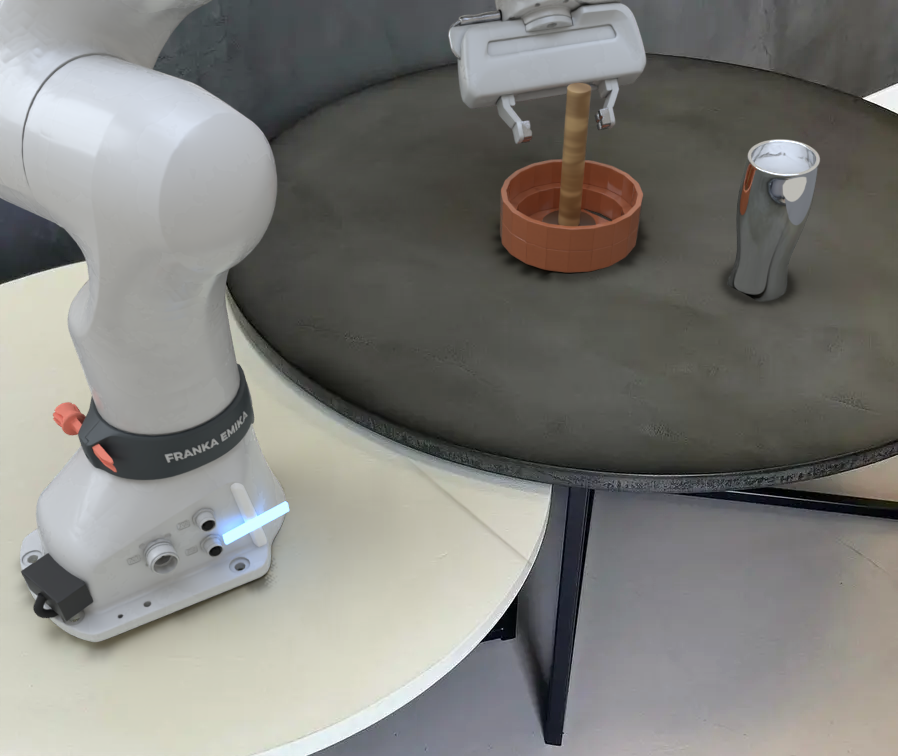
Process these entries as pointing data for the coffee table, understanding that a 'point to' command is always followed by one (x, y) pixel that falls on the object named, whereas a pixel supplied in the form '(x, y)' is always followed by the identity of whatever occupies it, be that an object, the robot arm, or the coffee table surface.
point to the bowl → (569, 246)
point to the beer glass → (772, 215)
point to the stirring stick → (573, 159)
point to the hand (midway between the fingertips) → (565, 134)
